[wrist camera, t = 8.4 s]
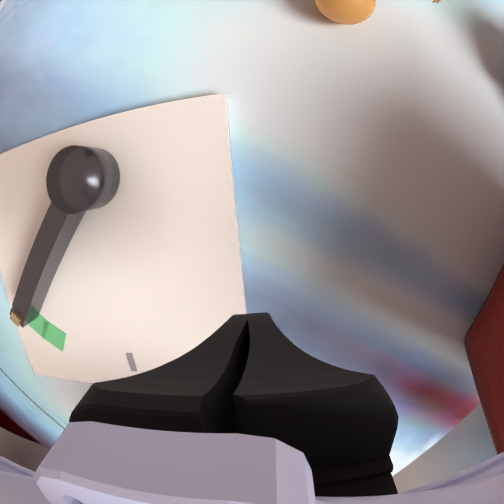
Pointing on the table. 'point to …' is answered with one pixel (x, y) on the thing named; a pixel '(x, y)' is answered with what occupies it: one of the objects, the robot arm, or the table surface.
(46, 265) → the lever
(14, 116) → the table surface
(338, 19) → the figurine
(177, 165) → the dial board
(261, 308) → the table surface
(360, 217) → the table surface
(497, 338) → the plant pot
